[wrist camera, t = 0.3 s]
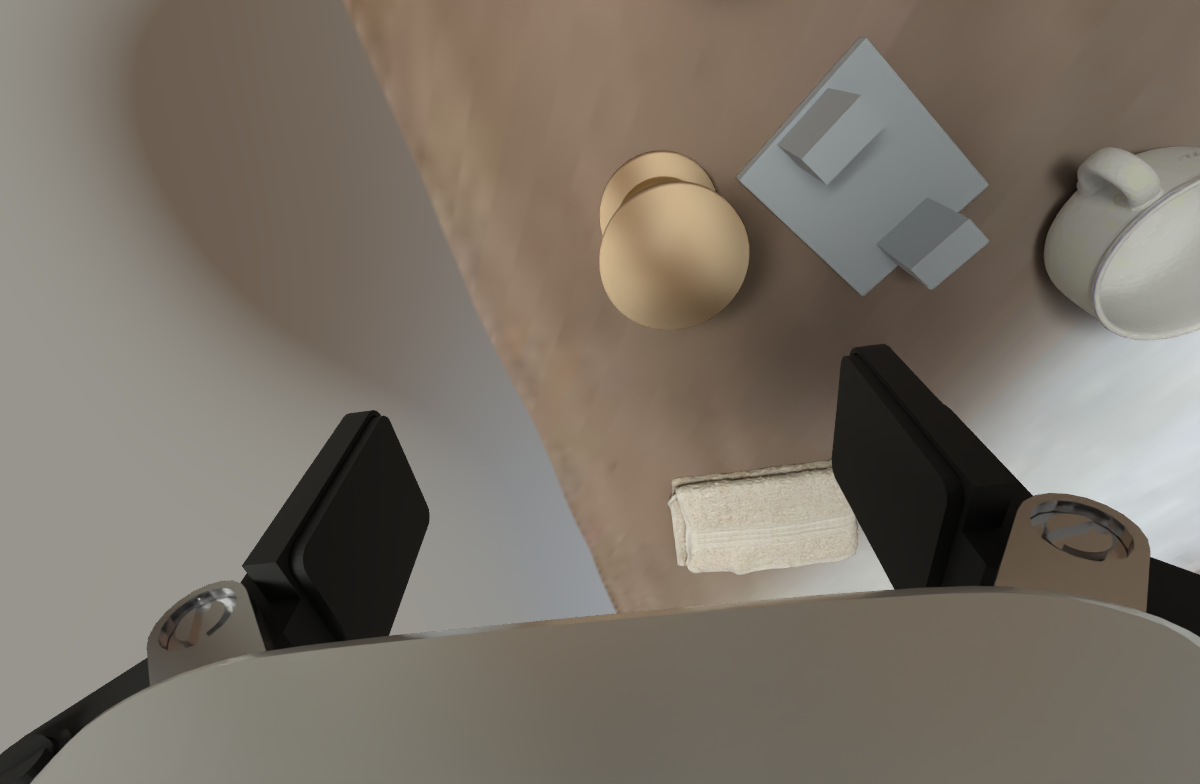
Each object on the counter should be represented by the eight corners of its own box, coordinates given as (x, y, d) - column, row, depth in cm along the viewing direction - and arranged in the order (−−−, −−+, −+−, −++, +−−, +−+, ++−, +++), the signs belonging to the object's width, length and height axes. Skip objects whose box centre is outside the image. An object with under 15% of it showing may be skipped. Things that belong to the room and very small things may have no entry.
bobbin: (652, 122, 35) (669, 150, 26) (740, 203, 37) (780, 251, 29) (576, 222, 38) (569, 274, 30) (662, 289, 41) (677, 354, 32)
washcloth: (662, 474, 51) (665, 498, 49) (859, 448, 50) (873, 470, 47) (675, 559, 58) (679, 583, 55) (850, 537, 56) (863, 562, 53)
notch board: (859, 37, 32) (907, 37, 27) (980, 181, 37) (1040, 204, 32) (735, 177, 37) (757, 199, 32) (857, 291, 41) (893, 326, 36)
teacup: (1207, 227, 38) (1336, 267, 32) (1046, 321, 42) (1130, 375, 36) (1154, 54, 33) (1297, 58, 26) (974, 181, 37) (1058, 213, 30)
